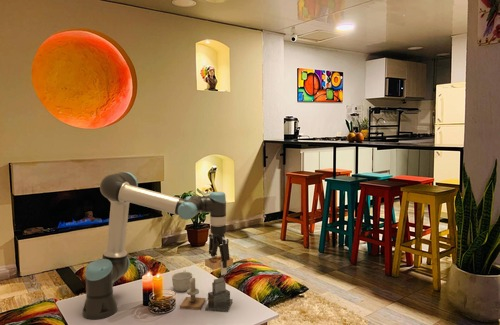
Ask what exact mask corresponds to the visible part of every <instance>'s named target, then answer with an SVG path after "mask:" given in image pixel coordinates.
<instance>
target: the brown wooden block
mask: <svg viewBox="0 0 500 325" xmlns="http://www.w3.org/2000/svg"><path fill="white" fill-rule="evenodd" d="M216 256H217V257H213V258H212V257H209V258H206V259H205V258H204V266H206V267H207V268H209V269H210V270H212V269H213V270H212V271H215V270H218V269H221V260H222V259H221V255H216ZM229 257H230V256H229ZM233 265H234V258H233V257H230V260H227V267H230V266H233ZM214 269H215V270H214Z"/></svg>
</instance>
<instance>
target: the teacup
mask: <svg viewBox="0 0 500 325" xmlns="http://www.w3.org/2000/svg"><path fill="white" fill-rule="evenodd" d="M190 278H193V273H192V272H190V271H186V270H183V271H180V272H179V271H178V272H175V273H174V274H172V275H171V279H172V280H171V282H172V287H173V289H174V290H176V292H177V291H178V292H187V290H189V289H190Z"/></svg>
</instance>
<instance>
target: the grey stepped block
mask: <svg viewBox="0 0 500 325" xmlns="http://www.w3.org/2000/svg"><path fill="white" fill-rule="evenodd" d="M226 285H227V284H226V280H225V278H224V277H219V278H215V279H213V282H212V283H211V286H212V291H209V292H208V293H207V301H208V302H207V304H206V306H205V308H204V311H205V312H217V313H218V312H219V313H221V312H222V313H229V311H230V309H231V306H232V304H233V298H231V291H230V290H228V289H227V288H226V287H227V286H226Z"/></svg>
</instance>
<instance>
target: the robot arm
mask: <svg viewBox="0 0 500 325" xmlns="http://www.w3.org/2000/svg"><path fill="white" fill-rule="evenodd" d="M99 190H100V193H101V195H102V196H103V197H104V198H106V199H107V200H108V201H109V202H110V209H109V210H110V211H109V220H108V230H107V241H106V242H107V243H106V248H105V249H104V251H103V252H102V258H100V259H96V260H93V261H91V262H89V263H88V264H87V265H86V266H85V273H84V276H85V293H86V294H85V296H86V298H85V302H84V305H83V307H82V316H83V318H85V319H88V320H101V319H105V318H109V317H111V316H113V315H115V314H116V313H117V311H118V303H117V300H116V298H115V295H114V287H113V286H114V284H113V283H115V282H116V281H118V280H119V279H121V278H122V277H123V276H125V275H126V273H127V272H128V270H129V269H130V266H131V262H130V258H129V257H128V251H127V250H126V238H127V230H128V229H127V227H128V221H129V220H128V219H129V210H130V209H129V208H130V203H131V204H135V205H138V206H142V207H147V208H150V209H154V210H157V211H161V212H165V213H169V214H173V215H177V216H178V217H180V219H182V220H187V221H188V220H191V219H193V218H195V216H197V215H198V214H199V213H209V215H210V216H209V217H210V219H209V222H210V223H209V224H210V234H208V237H209V238H208V239H209V243H208V254H209V255H210V257H211V258H213V257H217V256H218V253H217V252H218V249H219V253H220V256H221V259H222V260H221V268H220V275H221V276H224V275H227V274H228V273H227V272H228V270H227V267H228V266H227V260H230V251H229V250H230V248H229V242H230V240H229V239H228V238H226V237H225V234H226V233H227V200H226V193H225V192H223V191H212V192H210V193H209V195H207V196H202V195H201V196H199V195H198V196H197V195H191V196H186V197H185V199H184V198H180V197H178V196H173V195H169V194H167V193H166V194H165V193H162V192H158V191H156V190H154V191H153V190H150V189H147V188H143V187H139V182H138V179H137V177H136V176H135V175H134V174H133V173H131V172H128V171H121V172H116V173H111V174H108V175H106V176H104V178H102V180H101V182H100V184H99ZM211 270H212V271H215V270H216V269H214V270H213V269H211Z"/></svg>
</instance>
